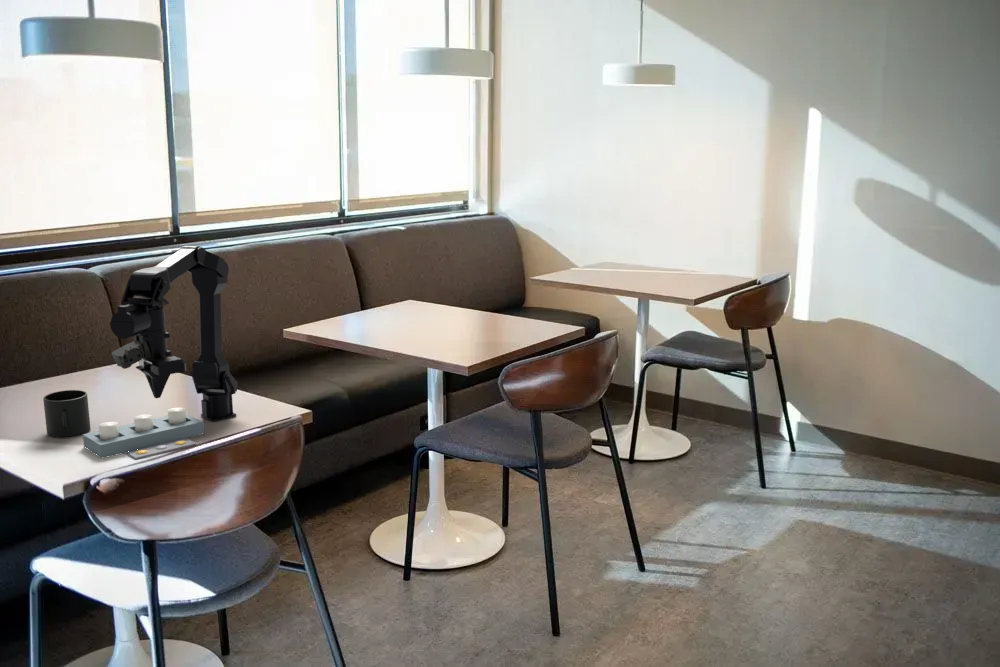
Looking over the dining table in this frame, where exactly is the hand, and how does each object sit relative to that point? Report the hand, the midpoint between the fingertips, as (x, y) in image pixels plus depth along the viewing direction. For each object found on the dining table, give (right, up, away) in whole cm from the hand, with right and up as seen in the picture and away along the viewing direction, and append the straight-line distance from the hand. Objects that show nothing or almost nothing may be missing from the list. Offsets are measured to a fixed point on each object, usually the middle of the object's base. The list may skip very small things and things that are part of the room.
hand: (157, 397), depth 215 cm
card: (0, -12, +3) cm, 12 cm away
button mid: (-6, -8, +8) cm, 13 cm away
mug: (-26, -10, +13) cm, 30 cm away
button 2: (0, -7, +14) cm, 15 cm away
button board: (-6, -10, +9) cm, 15 cm away
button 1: (-12, -10, +3) cm, 15 cm away
